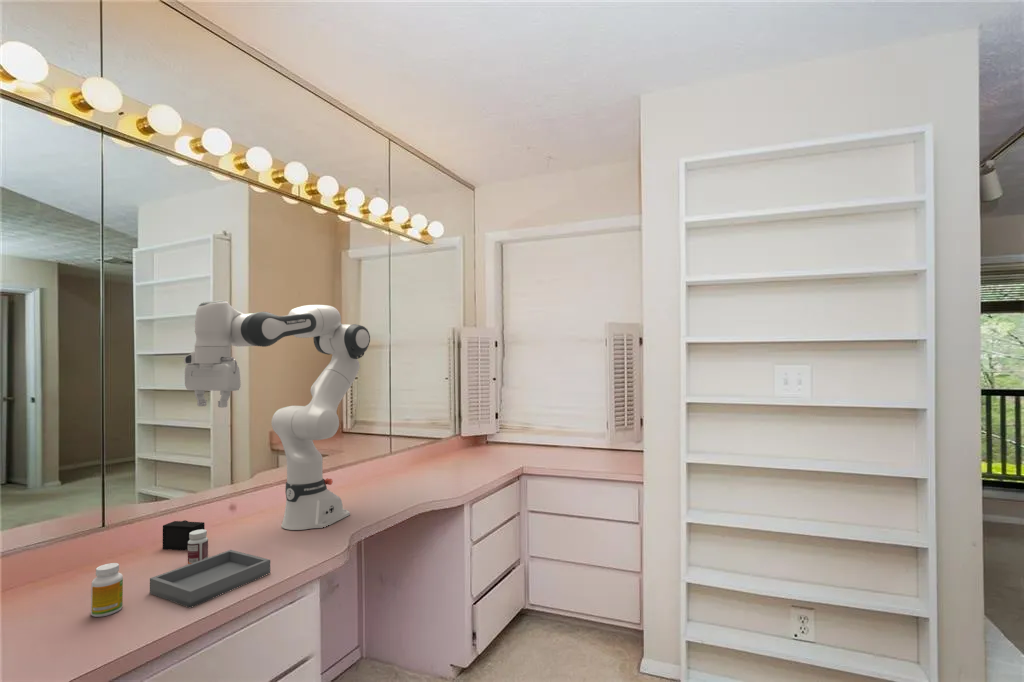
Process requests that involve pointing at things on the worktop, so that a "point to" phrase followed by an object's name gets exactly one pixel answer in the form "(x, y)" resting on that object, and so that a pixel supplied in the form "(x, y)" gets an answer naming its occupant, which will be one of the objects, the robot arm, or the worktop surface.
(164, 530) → the digital camera
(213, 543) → the worktop surface
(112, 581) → the supplement bottle
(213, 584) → the tray
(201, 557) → the pill bottle
